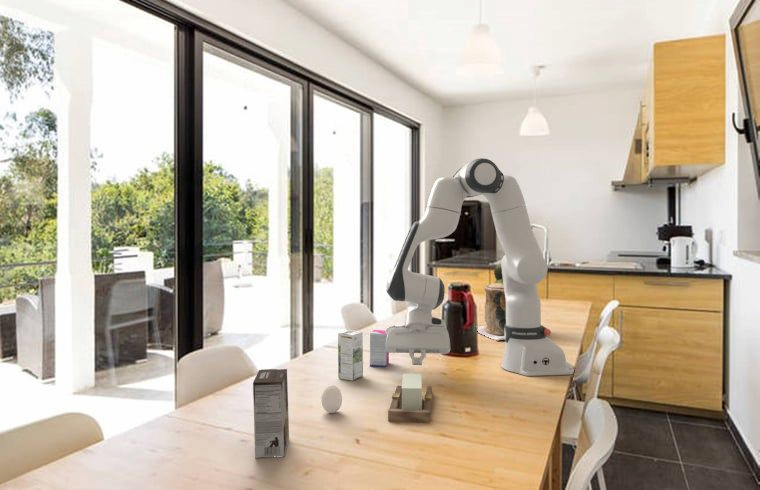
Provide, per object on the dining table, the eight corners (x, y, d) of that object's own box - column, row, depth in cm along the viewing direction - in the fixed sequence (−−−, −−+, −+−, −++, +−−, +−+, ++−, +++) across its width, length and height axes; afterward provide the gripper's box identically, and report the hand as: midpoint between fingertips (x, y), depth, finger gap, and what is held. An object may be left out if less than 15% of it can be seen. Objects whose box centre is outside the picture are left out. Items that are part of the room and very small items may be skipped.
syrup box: (348, 373, 157) (347, 329, 157) (363, 376, 154) (362, 331, 154) (338, 378, 152) (337, 332, 152) (353, 381, 149) (352, 334, 149)
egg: (319, 410, 126) (318, 382, 126) (339, 407, 128) (338, 380, 128) (324, 418, 121) (323, 388, 121) (344, 414, 123) (344, 386, 123)
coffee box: (260, 440, 109) (258, 369, 109) (289, 438, 110) (288, 367, 109) (253, 459, 100) (251, 382, 99) (285, 457, 101) (283, 380, 100)
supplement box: (386, 367, 164) (386, 333, 163) (369, 366, 165) (368, 333, 164) (389, 362, 169) (389, 329, 169) (373, 361, 171) (372, 329, 170)
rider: (421, 398, 134) (421, 373, 133) (422, 415, 122) (421, 388, 121) (403, 398, 134) (403, 373, 134) (402, 415, 122) (401, 388, 122)
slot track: (432, 393, 137) (432, 384, 137) (429, 422, 117) (429, 412, 117) (396, 392, 139) (396, 383, 139) (387, 421, 118) (387, 410, 118)
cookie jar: (468, 330, 219) (467, 259, 218) (515, 326, 226) (515, 257, 225) (497, 342, 196) (496, 263, 194) (549, 337, 203) (549, 261, 202)
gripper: (385, 320, 156) (382, 358, 147) (449, 320, 153) (450, 359, 144) (387, 330, 161) (384, 368, 151) (450, 331, 158) (450, 370, 148)
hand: (417, 364), depth 147 cm, fingers closed
